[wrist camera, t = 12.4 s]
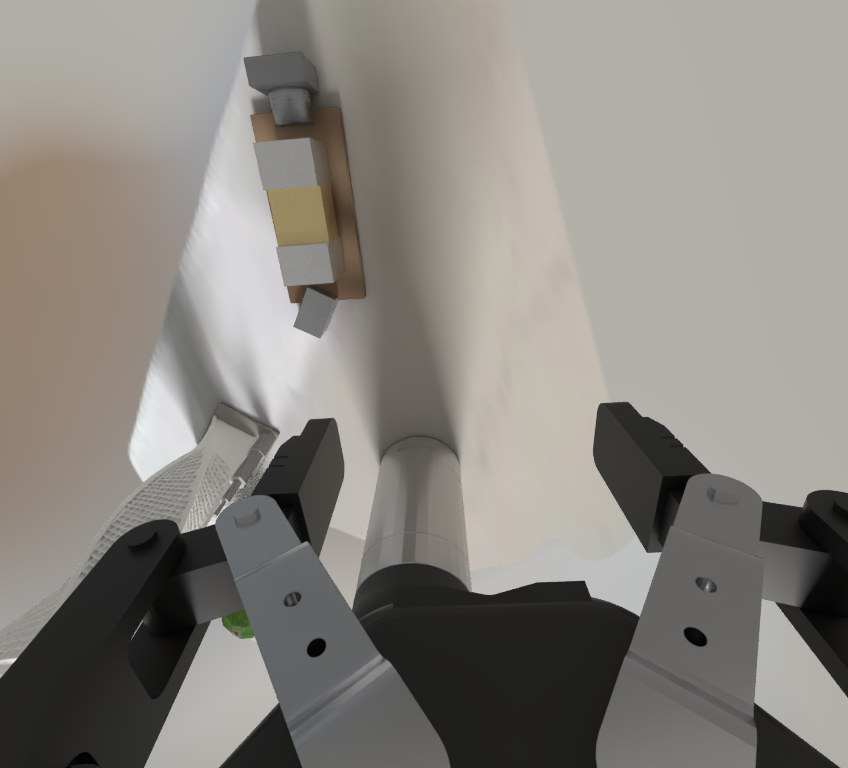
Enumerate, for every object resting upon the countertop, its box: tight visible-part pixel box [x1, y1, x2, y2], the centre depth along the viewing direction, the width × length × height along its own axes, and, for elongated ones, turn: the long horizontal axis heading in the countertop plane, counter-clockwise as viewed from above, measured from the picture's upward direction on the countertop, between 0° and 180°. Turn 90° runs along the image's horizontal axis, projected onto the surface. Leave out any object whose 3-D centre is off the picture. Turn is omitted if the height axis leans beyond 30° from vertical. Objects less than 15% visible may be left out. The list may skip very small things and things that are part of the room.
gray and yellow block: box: [253, 138, 346, 286], centre depth 33 cm, size 4×10×5 cm, turn 4°
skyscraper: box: [0, 403, 280, 678], centre depth 34 cm, size 8×8×28 cm
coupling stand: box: [244, 52, 366, 338], centre depth 34 cm, size 21×7×4 cm, turn 4°
